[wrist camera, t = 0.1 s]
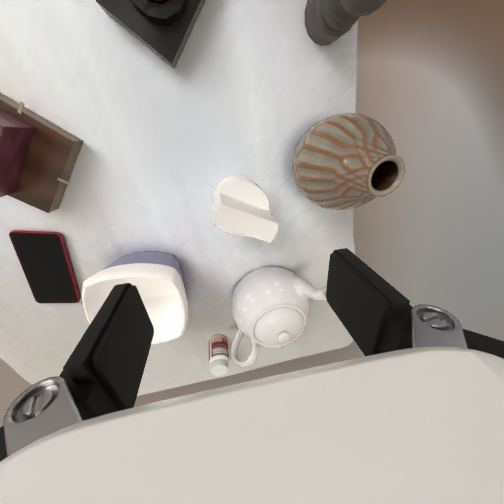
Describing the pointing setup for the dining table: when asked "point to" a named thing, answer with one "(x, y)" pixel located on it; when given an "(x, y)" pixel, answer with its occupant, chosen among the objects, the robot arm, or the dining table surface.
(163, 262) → the bowl
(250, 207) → the base with upright slab
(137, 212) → the dining table surface
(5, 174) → the bar
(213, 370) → the pill bottle
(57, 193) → the panel
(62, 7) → the dining table surface
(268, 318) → the teapot
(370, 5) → the candle holder
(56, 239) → the smartphone
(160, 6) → the button block
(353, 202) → the vase
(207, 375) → the dining table surface
